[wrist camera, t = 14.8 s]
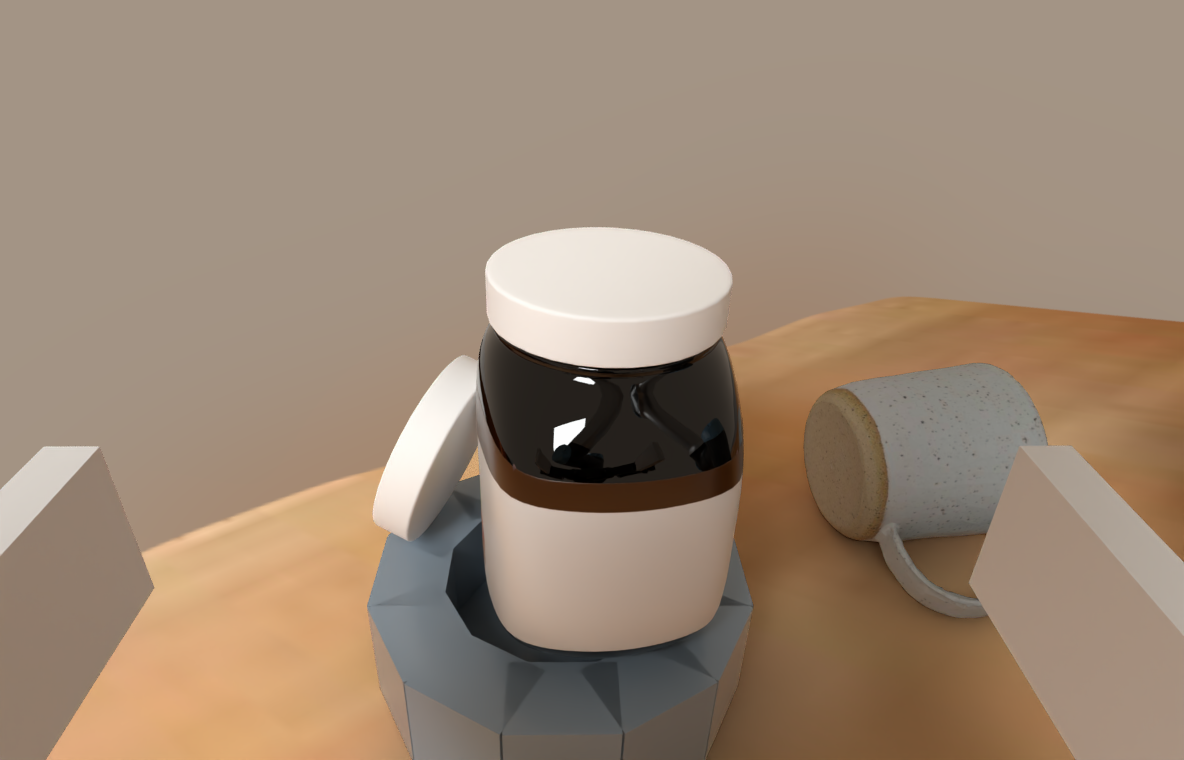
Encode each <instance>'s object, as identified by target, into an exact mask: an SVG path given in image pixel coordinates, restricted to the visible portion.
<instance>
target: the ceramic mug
mask: <svg viewBox="0 0 1184 760" xmlns="http://www.w3.org/2000/svg"><path fill="white" fill-rule="evenodd" d="M1019 446H1048V443H1047V437H1046V434H1045V431H1044V427H1043V424H1042V421H1041V419H1040V416H1039V414H1038V412H1037V410H1036V408H1035V406H1034V404H1033V402H1032V400H1031V398H1030V396H1029V395H1028V393H1027V392H1026V391H1025V389H1024V388H1023V387H1022V386H1021V384H1020V383H1019V382H1017V381H1016V380H1015V379H1014V377H1013V376H1011V375H1010V374H1009V373H1008V372H1006V371H1004V370H1002V369H1000V368H998V367H996V366H993V365H990V364H985V363H971V364H965V365H960V366H954V367H948V368H942V369H935V370H927V371H919V372H913V373H907V374H901V375H895V376H888V377H880V378H873V379H868V380H862V381H857V382H851V383H849V384H846V385H843V386H840V387H837V388H834V389H832V390H829V391H827V392H825V393H824V394H823V395H822V396H820V397H819V398H818V399H817V401H816V402H815V404H814V405H813V407H812V409H811V411H810V413H809V416H808V419H807V422H806V427H805V434H804V460H805V466H806V472H807V478H808V481H809V485H810V489H811V492H812V494H813V497H814V499H815V501H816V503H817V505H818V508H819V509H820V511H821V513H822V514H823V516H824V517H825V518H826V520H827V521H828V522H829V523H830V524H831V525H832V526H833V527H834V528H835V529H836V530H838V531H839V532H840V533H841V534H843V535H844V536H846V537H848V538H851V539H855V540H862V541H875V542H879V543H880V547H881V549H882V553H883V556H884V559H885V561H886V564H887V566H888V568H889V569H890V570H891V572H892V573H893V574H894V575H895V577H896V579H897V581H898V582H899V583H900V584H901V585H902V586H903V589H904V590H905V591H906V592H907V593H908V594H909V595H911V596H912V597H913V598H914V599H915V600H917V601H918V602H920V603H921V604H922V605H924V606H926V607H927V608H929V609H932V610H934V611H936V612H939V613H942V614H945V615H948V616H952V617H957V618H979V617H984V616H988V614H987V613H986V611H985V609H984V608H983V606H982V604H981V603H980V601H979V599H976V598H970V597H965V596H962V595H959V594H956V593H953V592H948V591H945V590H944V589H943V588H942V587H938V586H936V585H935V584H933V583H932V582H930V581H929V580H928V579H927V578H926V577H925V576H924V575H923V574H922V573H921V571H920V570H918V569H917V568H916V566H915V565H914V563H913V561H912V559H911V558H910V556H909V554H908V553H907V551H906V550H905V548H904V546H903V542H902V541H903V540H912V539H921V538H930V537H950V536H966V535H976V534H984V533H987V532H988V529H989V527H990V524H991V521H992V519H993V516H994V513H995V511H996V508H997V505H998V503H999V500H1000V497H1001V494H1002V492H1003V489H1004V486H1005V484H1006V481H1007V478H1008V476H1009V473H1010V470H1011V468H1012V465H1013V462H1014V460H1015V457H1016V454H1017V451H1018V449H1019Z"/></svg>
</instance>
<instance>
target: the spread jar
mask: <svg viewBox="0 0 1184 760" xmlns="http://www.w3.org/2000/svg"><path fill="white" fill-rule="evenodd" d="M485 279H486V305H487V315H488V319H489V322H490V323H489V325H488V327H487V329H486V331H485V334H484V337H483V339H482V342H481V346H480V352H479V358H478V361H477V360H475V359H473V358H471V357H469V356H466V355H463V356H460V357H458V358H456V359H455V360H454V361H452V362H451V363H450V364H449V365H448V366H447V367H446V368H445V369H444V370H443V371H442V372H441V374H440V375H439V376H438V377H437V379H436V380H435V381H434V382H433V384H432V385H431V387H430V388H429V389H428V391H427V392H426V394H425V395H424V397H423V398H422V399H421V401H420V402H419V404H418V406H417V407H416V409H415V411H414V412H413V414H412V415H411V417H410V419H409V421H408V423H407V424H406V426H405V428H404V430H403V432H402V433H401V435H400V437H399V440H398V441H397V443H396V445H395V447H394V450H393V452H392V454H391V456H390V458H389V461H388V463H387V465H386V468H385V470H384V472H383V475H382V478H381V481H380V484H379V486H378V489H377V493H376V497H375V501H374V506H373V521H374V522H375V524H376V525H377V526H379V527H381V528H383V529H385V530H387V531H389V532H391V533H393V534H395V535H397V536H399V537H401V538H403V539H405V540H407V541H414V540H415V539H417V538H419V537H420V536H421V535H422V534H423V533H424V532H425V531H426V529H427V528H428V527H429V526H430V525H431V523H432V522H433V521H434V519H435V518H436V517H437V515H438V514H439V513H440V511H441V510H442V508H443V507H444V505H445V503H446V502H447V500H448V499H449V497H450V496H451V494H452V492H453V491H454V489H455V487H456V486H457V484H458V482H459V480H460V479H461V477H462V475H463V473H464V472H465V470H466V468H467V466H468V464H469V462H470V460H471V458H472V456H473V454H474V452H475V450H476V448H477V446H478V456H479V474H480V497H481V521H482V540H483V554H484V564H485V573H486V580H487V585H488V590H489V594H490V597H491V600H492V603H493V606H494V609H495V612H496V614H497V616H498V619H499V621H500V622H501V624H502V626H503V627H504V629H505V630H506V631H507V632H508V634H509V635H510V636H511V637H512V638H514V639H515V640H516V641H517V642H519V643H521V644H523V645H525V646H527V647H529V648H532V649H535V650H538V651H541V652H545V653H549V654H553V655H559V656H565V657H574V658H590V659H600V658H617V657H625V656H631V655H636V654H641V653H645V652H649V651H653V650H656V649H659V648H662V647H665V646H669V645H671V644H674V643H677V642H680V641H682V640H684V639H686V638H688V637H690V636H692V635H693V634H695V633H696V632H698V631H699V630H701V629H702V628H703V627H705V626H706V625H707V624H708V623H709V622H710V621H711V620H712V619H713V617H714V615H715V613H716V611H717V609H718V607H719V605H720V602H721V598H722V595H723V591H724V587H725V583H726V579H727V574H728V568H729V563H730V557H731V551H732V545H733V539H734V533H735V527H736V521H737V515H738V509H739V502H740V495H741V488H742V475H743V456H744V447H743V421H742V413H741V407H740V401H739V394H738V387H737V382H736V378H735V374H734V370H733V366H732V362H731V358H730V355H729V352H728V349H727V346H726V344H725V341H724V339H723V336H722V335H723V333H724V331H725V329H726V327H727V322H728V314H729V307H730V299H731V292H732V285H733V281H732V273H731V271H730V270H729V268H728V266H727V265H726V263H724V262H723V261H722V260H721V259H720V258H719V257H718V256H717V255H715V254H713V253H712V252H710V251H708V250H707V249H705V248H703V247H700V246H698V245H696V244H693V243H691V242H688V241H685V240H682V239H679V238H676V237H673V236H668V235H663V234H659V233H654V232H649V231H642V230H635V229H625V228H612V227H585V228H568V229H560V230H551V231H546V232H541V233H537V234H532V235H529V236H526V237H523V238H520V239H517V240H514V241H512V242H510V243H508V244H506V245H504V246H503V247H501V248H500V249H499V250H497V251H496V252H494V254H493V255H492V256H491V257H490V259H489V260H488V262H487V265H486V270H485Z"/></svg>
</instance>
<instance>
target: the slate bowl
mask: <svg viewBox="0 0 1184 760" xmlns="http://www.w3.org/2000/svg"><path fill="white" fill-rule="evenodd" d="M388 536H389V537H387V540H386V543H385V547H384V550H383V554H382V557H381V560H380V564H379V567H378V571H377V574H376V578H375V581H374V584H373V588H372V591H371V595H370V598H369V601H368V605H367V609H368V616H369V622H370V628H371V635H372V641H373V647H374V654H375V660H376V666H377V673H378V679H379V685H380V689H381V691H382V694H383V696H384V698H385V700H386V703H387V705H388V707H389V709H390V712H391V714H392V716H393V718H394V721H395V723H396V725H397V727H398V730H399V732H400V734H401V736H402V739H403V741H404V743H405V745H406V748H407V750H408V752H409V754H410V757H411V759H412V760H706V758H707V755H708V753H709V751H710V748H711V746H712V744H713V742H714V739H715V737H716V735H717V732H718V730H719V728H720V725H721V723H722V721H723V719H724V716H725V714H726V712H727V709H728V707H729V705H730V703H731V700H732V698H733V696H734V693H735V691H736V689H737V687H738V682H739V677H740V672H741V667H742V662H743V657H744V652H745V647H746V642H747V637H748V632H749V627H750V621H751V616H752V611H753V603H752V599H751V596H750V592H749V589H748V585H747V582H746V578H745V575H744V571H743V568H742V564H741V561H740V557H739V554H738V551H737V547H736V544H735V540H734V539H733V545H732V551H731V557H730V563H729V568H728V574H727V579H726V583H725V587H724V591H723V595H722V598H721V602H720V605H719V607H718V609H717V611H716V613H715V615H714V617H713V619H712V620H711V621H710V622H709V623H708V624H707V625H706V626H705V627H703V628H702V629H701V630H699V631H698V632H696V633H695V634H693V635H692V636H690V637H688V638H686V639H684V640H682V641H680V642H677V643H674V644H671V645H669V646H665V647H662V648H659V649H656V650H653V651H649V652H645V653H641V654H636V655H631V656H625V657H617V658H600V659H590V658H574V657H565V656H559V655H553V654H549V653H545V652H541V651H538V650H535V649H532V648H529V647H527V646H525V645H523V644H521V643H519V642H517V641H516V640H515V639H514V638H512V637H511V636H510V635H509V634H508V632H507V631H506V630H505V629H504V627H503V626H502V624H501V622H500V621H499V619H498V616H497V614H496V612H495V609H494V606H493V603H492V600H491V597H490V594H489V590H488V585H487V580H486V573H485V564H484V554H483V540H482V521H481V497H480V475H477V476H474V477H471V478H468V479H465V480H462V481H459V482H458V484H457V486H456V487H455V489H454V491H453V492H452V494H451V496H450V497H449V499H448V500H447V502H446V503H445V505H444V507H443V508H442V510H441V511H440V513H439V514H438V515H437V517H436V518H435V519H434V521H433V522H432V523H431V525H430V526H429V527H428V528H427V529H426V531H425V532H424V533H423V534H422V535H421V536H420V537H419V538H417V539H415V540H414V541H407V540H405V539H403V538H401V537H399V536H397V535H395V534H393V533H390V534H389V535H388Z"/></svg>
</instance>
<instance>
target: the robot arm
mask: <svg viewBox="0 0 1184 760" xmlns="http://www.w3.org/2000/svg"><path fill="white" fill-rule="evenodd" d="M969 584H970V586H971V588H972V589H973V591H974V593H975V594H976V596H977V598H978V599H979V601H980V603H981V604H982V606H983V608H984V609H985V611H986V613H987V614H988V616H989V618H990V619H991V621H992V623H993V624H994V626H995V627H996V629H997V631H998V632H999V634H1000V636H1001V637H1002V639H1003V641H1004V642H1005V644H1006V646H1007V647H1008V649H1009V651H1010V652H1011V654H1012V656H1013V657H1014V659H1015V661H1016V662H1017V664H1018V666H1019V667H1020V669H1021V670H1022V672H1023V674H1024V675H1025V677H1026V679H1027V680H1028V682H1029V684H1030V685H1031V687H1032V689H1033V690H1034V692H1035V694H1036V695H1037V697H1038V699H1039V700H1040V702H1041V704H1042V705H1043V707H1044V709H1045V710H1046V712H1047V713H1048V715H1049V717H1050V718H1051V720H1052V722H1053V723H1054V725H1055V727H1056V728H1057V730H1058V732H1059V733H1060V735H1061V737H1062V738H1063V740H1064V742H1065V743H1066V745H1067V747H1068V748H1069V750H1070V751H1071V753H1072V755H1073V756H1074V758H1075V760H1184V562H1183V561H1182V560H1181V559H1180V558H1179V557H1178V556H1177V555H1176V554H1175V553H1174V552H1173V551H1172V550H1171V549H1170V547H1169V546H1168V545H1167V544H1166V543H1165V542H1164V541H1163V540H1162V539H1161V538H1160V537H1159V536H1158V535H1157V534H1156V533H1155V532H1154V531H1153V530H1152V529H1151V528H1150V527H1149V526H1148V525H1147V524H1146V523H1145V522H1144V520H1143V519H1142V518H1141V517H1140V516H1139V515H1138V514H1137V513H1136V512H1135V511H1134V510H1133V509H1132V508H1131V507H1130V506H1129V505H1128V504H1127V503H1126V502H1125V501H1124V500H1123V499H1122V498H1121V497H1120V496H1119V495H1118V493H1117V492H1116V491H1115V490H1114V489H1113V488H1112V487H1111V486H1110V485H1109V484H1108V483H1107V482H1106V481H1105V480H1104V479H1103V478H1102V477H1101V476H1100V475H1099V474H1098V473H1097V472H1096V471H1095V470H1094V469H1093V468H1092V466H1091V465H1090V464H1089V463H1088V462H1087V461H1086V460H1085V459H1084V458H1083V457H1082V456H1081V455H1080V454H1079V453H1078V452H1077V451H1076V450H1075V449H1074V448H1073V447H1072V446H1019V449H1018V451H1017V454H1016V457H1015V460H1014V462H1013V465H1012V468H1011V470H1010V473H1009V476H1008V478H1007V481H1006V484H1005V486H1004V489H1003V492H1002V494H1001V497H1000V500H999V503H998V505H997V508H996V511H995V513H994V516H993V519H992V521H991V524H990V527H989V529H988V532H987V535H986V537H985V540H984V543H983V546H982V548H981V551H980V554H979V556H978V559H977V562H976V564H975V567H974V570H973V572H972V575H971V578H970V581H969ZM153 589H154V586H153V583H152V580H151V578H150V575H149V573H148V570H147V568H146V565H145V562H144V560H143V557H142V555H141V552H140V549H139V547H138V544H137V542H136V539H135V537H134V534H133V532H132V529H131V526H130V524H129V521H128V519H127V516H126V514H125V511H124V508H123V506H122V503H121V500H120V498H119V496H118V493H117V490H116V488H115V485H114V482H113V480H112V477H111V475H110V472H109V470H108V467H107V464H106V462H105V460H104V457H103V454H102V452H101V449H100V447H43V448H42V449H41V450H40V451H39V452H38V453H37V454H36V455H35V456H34V457H33V458H32V459H31V460H30V461H29V462H28V463H27V464H26V465H25V466H24V467H23V468H22V469H21V470H20V471H19V472H18V473H17V474H16V475H15V476H14V477H13V478H12V479H11V480H10V481H9V482H8V483H7V484H5V486H3V488H1V489H0V760H46V759H47V757H48V756H49V754H50V752H51V751H52V749H53V748H54V746H55V744H56V743H57V741H58V740H59V738H60V737H61V735H62V733H63V732H64V730H65V729H66V727H67V725H68V724H69V722H70V721H71V719H72V718H73V716H74V714H75V713H76V711H77V710H78V708H79V706H80V705H81V703H82V702H83V700H84V699H85V697H86V695H87V694H88V692H89V691H90V689H91V687H92V686H93V684H94V683H95V681H96V680H97V678H98V676H99V675H100V673H101V672H102V670H103V668H104V667H105V665H106V664H107V662H108V660H109V659H110V657H111V656H112V654H113V653H114V651H115V649H116V648H117V646H118V645H119V643H120V641H121V640H122V638H123V637H124V635H125V634H126V632H127V630H128V629H129V627H130V626H131V624H132V622H133V621H134V619H135V618H136V616H137V615H138V613H139V611H140V610H141V608H142V607H143V605H144V603H145V602H146V600H147V599H148V597H149V596H150V594H151V592H152V591H153Z"/></svg>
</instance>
